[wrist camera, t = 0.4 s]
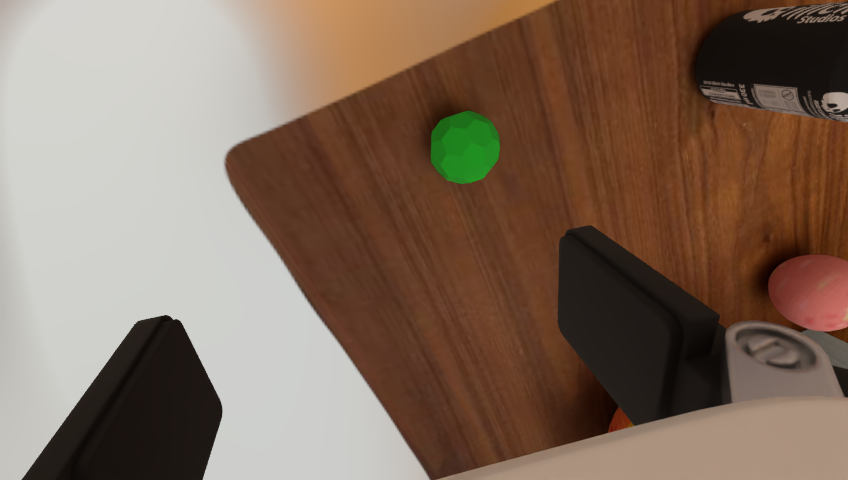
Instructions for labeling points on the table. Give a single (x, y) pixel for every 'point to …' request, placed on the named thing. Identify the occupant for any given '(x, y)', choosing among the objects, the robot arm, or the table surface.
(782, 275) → the apple
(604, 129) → the table surface
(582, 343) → the robot arm
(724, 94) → the beverage can
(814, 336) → the cup
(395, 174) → the table surface
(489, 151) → the polyhedron
